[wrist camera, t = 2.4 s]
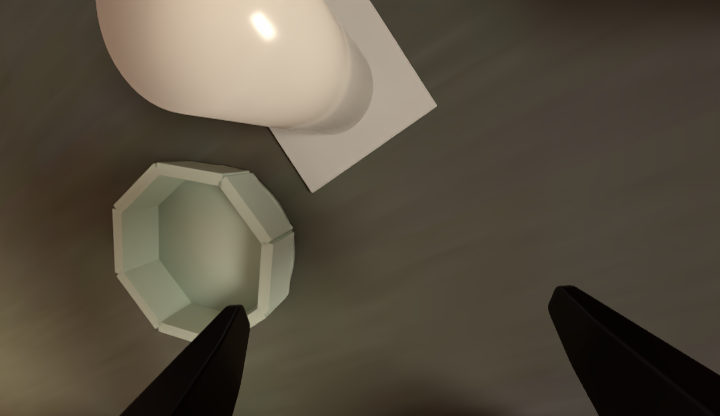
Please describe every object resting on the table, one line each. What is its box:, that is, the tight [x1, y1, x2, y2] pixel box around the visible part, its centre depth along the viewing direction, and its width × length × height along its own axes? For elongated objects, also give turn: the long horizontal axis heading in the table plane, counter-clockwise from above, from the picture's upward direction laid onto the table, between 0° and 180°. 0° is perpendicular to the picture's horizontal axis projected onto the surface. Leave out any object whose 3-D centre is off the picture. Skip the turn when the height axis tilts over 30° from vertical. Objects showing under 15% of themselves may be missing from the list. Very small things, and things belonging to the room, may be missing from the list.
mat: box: [269, 0, 437, 193], centre depth 20 cm, size 10×10×1 cm
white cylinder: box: [96, 0, 373, 135], centre depth 14 cm, size 6×6×12 cm
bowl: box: [112, 161, 295, 342], centre depth 22 cm, size 13×13×4 cm
